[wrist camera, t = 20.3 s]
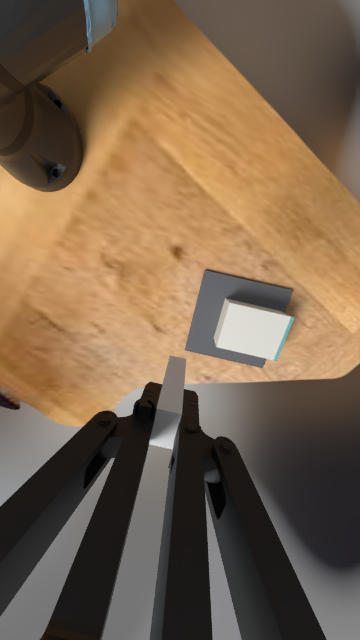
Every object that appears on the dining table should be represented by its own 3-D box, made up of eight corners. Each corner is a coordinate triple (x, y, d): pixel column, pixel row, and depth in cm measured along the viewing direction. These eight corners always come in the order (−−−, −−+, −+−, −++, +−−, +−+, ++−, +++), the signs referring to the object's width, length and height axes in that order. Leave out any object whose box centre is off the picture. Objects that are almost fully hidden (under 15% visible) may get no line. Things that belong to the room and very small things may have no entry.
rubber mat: (204, 270, 38) (204, 270, 37) (291, 289, 38) (292, 290, 37) (185, 349, 43) (185, 350, 43) (261, 366, 43) (262, 368, 42)
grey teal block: (229, 302, 34) (294, 317, 34) (225, 298, 39) (281, 311, 39) (216, 347, 36) (276, 361, 36) (213, 337, 41) (266, 349, 41)
